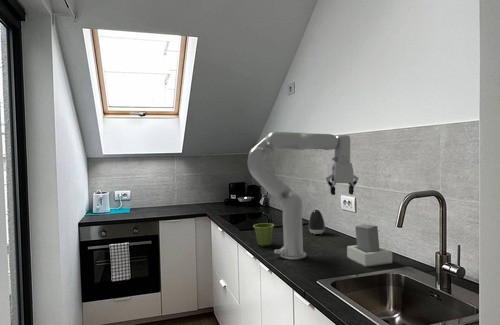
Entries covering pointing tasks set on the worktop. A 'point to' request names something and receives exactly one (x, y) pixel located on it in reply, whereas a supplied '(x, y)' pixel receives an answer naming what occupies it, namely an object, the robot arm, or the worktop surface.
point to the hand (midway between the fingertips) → (342, 194)
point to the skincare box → (367, 238)
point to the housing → (369, 256)
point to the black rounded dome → (316, 222)
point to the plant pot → (264, 233)
